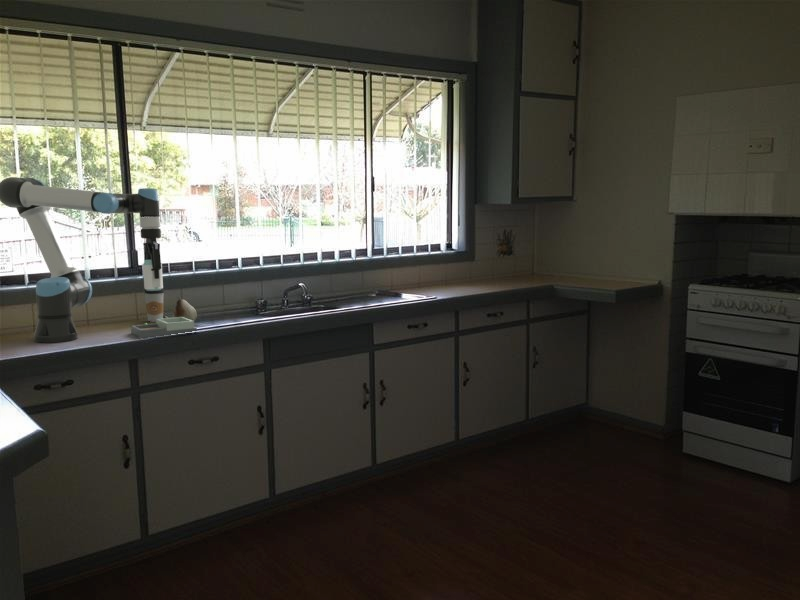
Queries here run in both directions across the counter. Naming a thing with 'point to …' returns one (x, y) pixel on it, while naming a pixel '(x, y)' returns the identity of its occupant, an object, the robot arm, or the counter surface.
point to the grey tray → (164, 327)
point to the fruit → (184, 310)
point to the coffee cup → (154, 304)
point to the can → (150, 276)
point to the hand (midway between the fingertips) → (153, 286)
